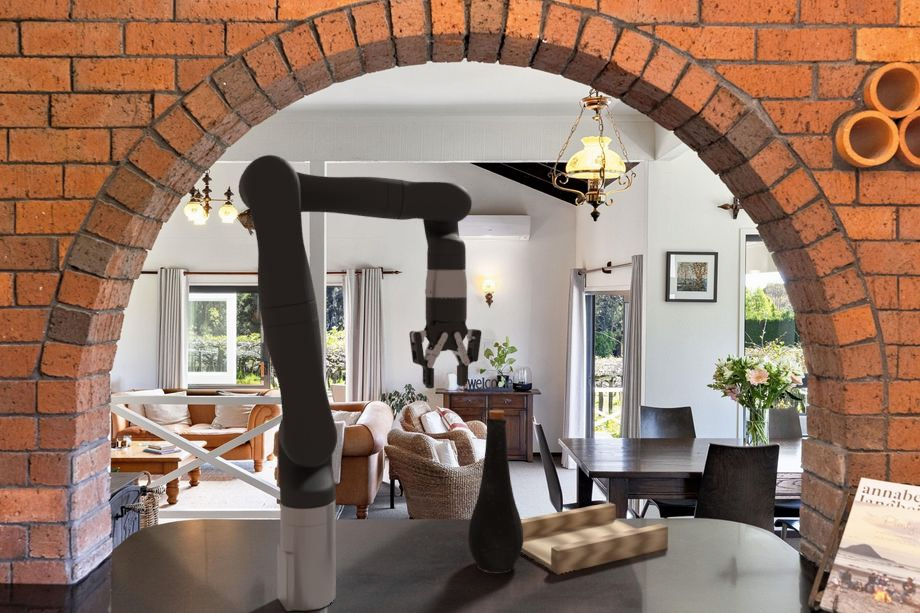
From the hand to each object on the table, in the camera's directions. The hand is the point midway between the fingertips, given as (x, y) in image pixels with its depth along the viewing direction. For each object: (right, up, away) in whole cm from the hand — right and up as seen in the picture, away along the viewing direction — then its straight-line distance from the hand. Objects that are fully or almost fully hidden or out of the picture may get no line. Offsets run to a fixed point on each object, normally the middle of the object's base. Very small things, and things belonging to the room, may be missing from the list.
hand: (445, 386), depth 134 cm
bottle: (+9, -35, +7) cm, 37 cm away
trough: (+29, -35, +17) cm, 49 cm away
